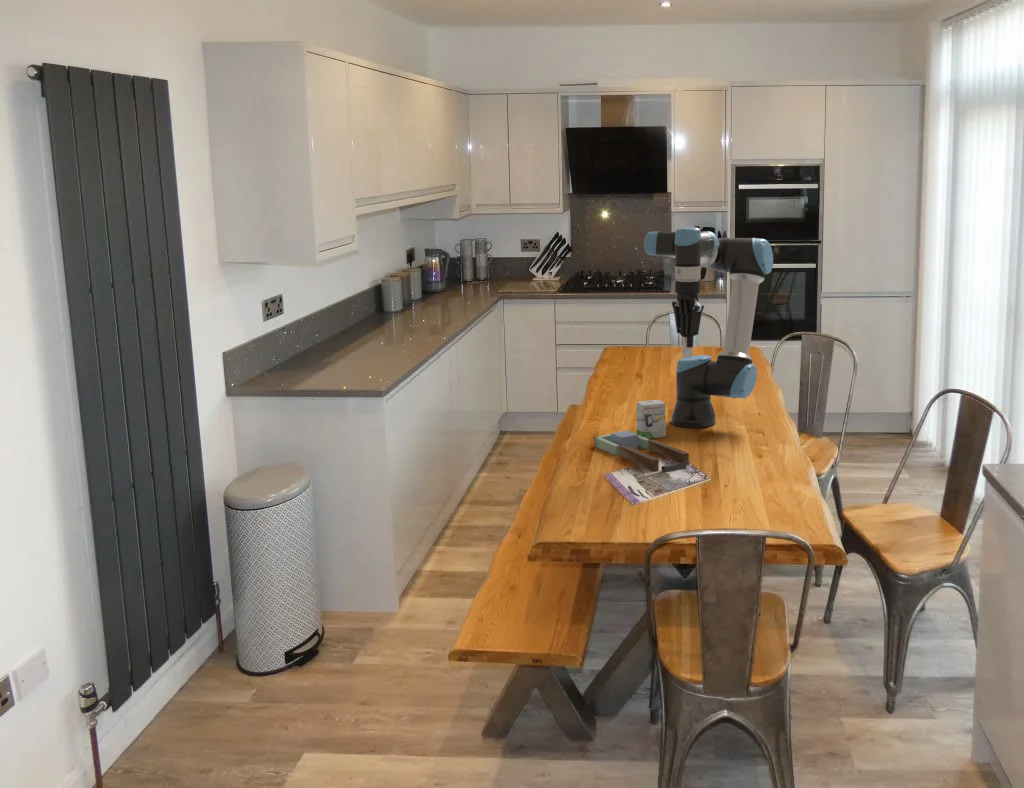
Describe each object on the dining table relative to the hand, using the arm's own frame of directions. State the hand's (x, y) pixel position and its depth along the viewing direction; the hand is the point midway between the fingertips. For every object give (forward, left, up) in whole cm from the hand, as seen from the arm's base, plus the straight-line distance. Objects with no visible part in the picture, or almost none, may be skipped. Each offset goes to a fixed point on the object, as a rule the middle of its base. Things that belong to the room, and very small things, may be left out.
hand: (687, 357), depth 307 cm
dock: (+13, -17, -30) cm, 37 cm away
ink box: (-2, -22, -31) cm, 38 cm away
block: (+13, -15, -31) cm, 37 cm away
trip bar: (+13, +11, -30) cm, 35 cm away
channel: (+13, 0, -30) cm, 33 cm away
